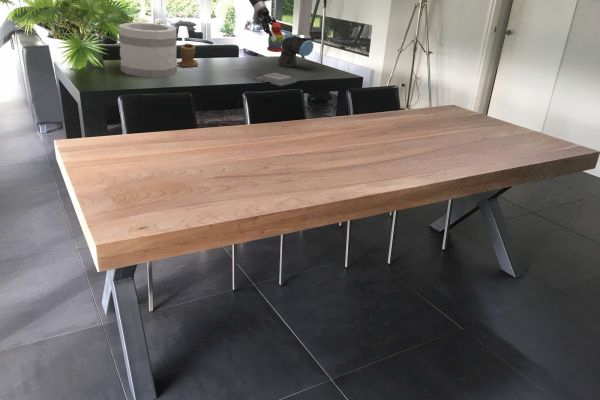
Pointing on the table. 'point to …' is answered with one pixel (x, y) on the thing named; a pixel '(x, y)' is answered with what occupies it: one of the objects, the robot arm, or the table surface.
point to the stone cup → (187, 55)
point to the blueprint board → (277, 79)
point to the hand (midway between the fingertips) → (279, 40)
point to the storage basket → (148, 49)
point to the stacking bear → (277, 43)
